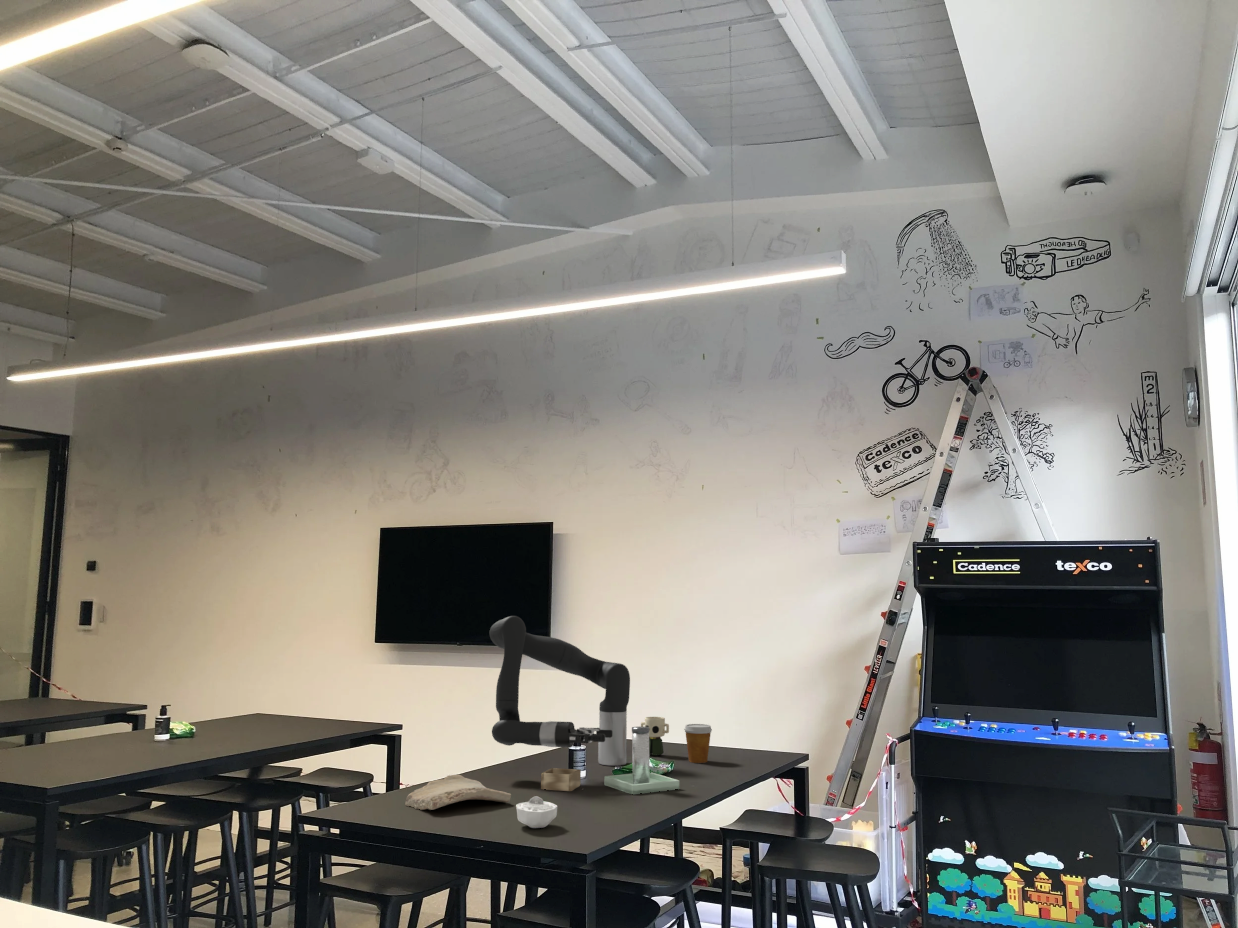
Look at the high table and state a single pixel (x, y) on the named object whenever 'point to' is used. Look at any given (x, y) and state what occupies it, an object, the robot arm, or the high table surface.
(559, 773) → the holder
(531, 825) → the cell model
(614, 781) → the tray
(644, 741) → the canister
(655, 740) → the character mug
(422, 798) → the beige pottery shard
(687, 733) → the disposable coffee cup
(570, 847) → the high table surface
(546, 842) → the high table surface
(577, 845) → the high table surface
